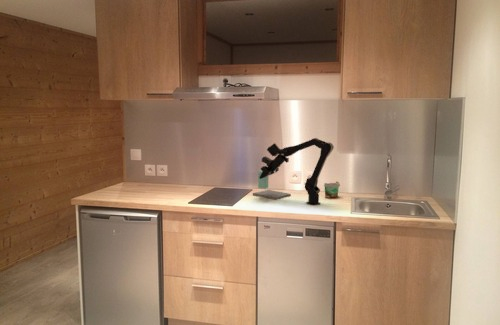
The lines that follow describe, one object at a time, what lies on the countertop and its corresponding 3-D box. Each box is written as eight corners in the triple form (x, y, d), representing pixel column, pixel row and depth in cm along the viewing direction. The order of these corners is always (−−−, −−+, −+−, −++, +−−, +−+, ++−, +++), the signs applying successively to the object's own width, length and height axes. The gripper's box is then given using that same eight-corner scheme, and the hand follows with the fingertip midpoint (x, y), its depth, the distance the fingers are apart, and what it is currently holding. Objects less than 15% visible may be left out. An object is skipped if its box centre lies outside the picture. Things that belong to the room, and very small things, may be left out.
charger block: (265, 188, 244) (265, 171, 243) (258, 188, 246) (258, 171, 245) (268, 187, 249) (268, 170, 247) (261, 186, 251) (261, 170, 249)
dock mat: (290, 195, 256) (290, 193, 255) (275, 199, 244) (275, 197, 244) (267, 191, 269) (267, 189, 269) (252, 195, 257) (252, 192, 257)
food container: (330, 199, 245) (331, 184, 244) (323, 198, 250) (324, 183, 249) (343, 197, 252) (343, 182, 251) (336, 195, 257) (336, 181, 256)
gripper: (274, 151, 251) (259, 166, 257) (263, 153, 234) (247, 170, 240) (285, 163, 249) (269, 179, 255) (275, 167, 232) (258, 183, 238)
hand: (261, 177), depth 247 cm, fingers closed on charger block, 5 cm apart
